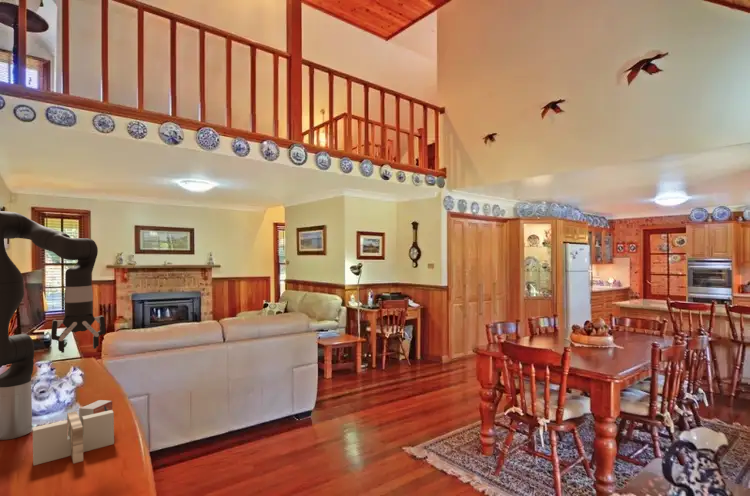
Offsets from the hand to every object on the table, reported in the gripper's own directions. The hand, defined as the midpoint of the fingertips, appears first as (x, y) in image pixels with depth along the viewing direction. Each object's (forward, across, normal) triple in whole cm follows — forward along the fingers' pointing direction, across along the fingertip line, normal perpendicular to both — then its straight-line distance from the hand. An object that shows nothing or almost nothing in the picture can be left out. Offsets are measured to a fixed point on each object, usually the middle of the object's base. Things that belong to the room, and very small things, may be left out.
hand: (79, 350), depth 137 cm
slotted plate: (+29, -2, -8) cm, 31 cm away
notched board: (+29, -2, -8) cm, 31 cm away
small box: (+30, +5, +1) cm, 30 cm away
